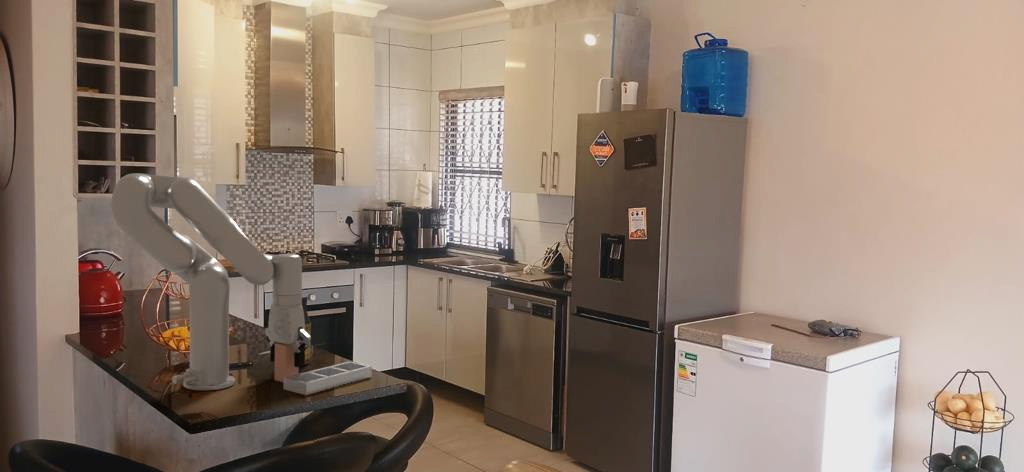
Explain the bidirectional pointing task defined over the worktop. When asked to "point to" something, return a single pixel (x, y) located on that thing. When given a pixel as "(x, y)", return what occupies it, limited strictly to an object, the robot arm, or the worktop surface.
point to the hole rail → (327, 378)
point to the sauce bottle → (306, 327)
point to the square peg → (284, 361)
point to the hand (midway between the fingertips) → (287, 363)
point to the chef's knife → (265, 352)
